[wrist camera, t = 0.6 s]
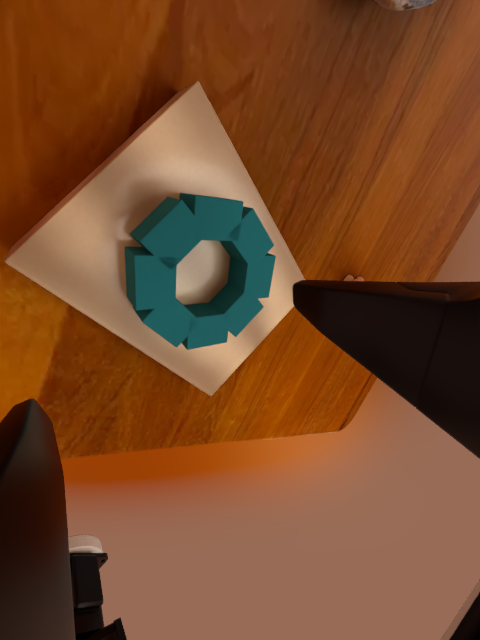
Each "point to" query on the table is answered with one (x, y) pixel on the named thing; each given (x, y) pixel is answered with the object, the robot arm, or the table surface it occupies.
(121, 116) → the table surface
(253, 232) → the ring
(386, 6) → the seashell
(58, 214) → the board
